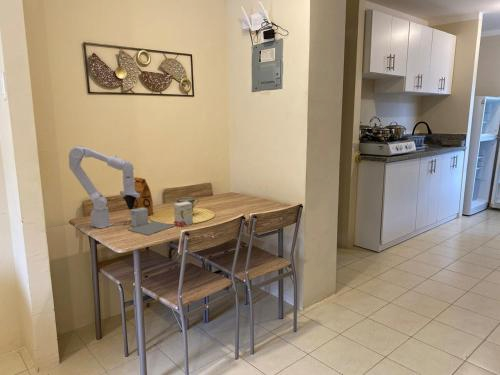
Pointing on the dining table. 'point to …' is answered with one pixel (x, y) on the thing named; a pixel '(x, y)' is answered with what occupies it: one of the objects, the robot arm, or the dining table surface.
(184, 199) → the ceramic cup
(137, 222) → the medicine box
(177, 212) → the ink box
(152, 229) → the mat
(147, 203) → the coffee package
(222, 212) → the dining table surface
